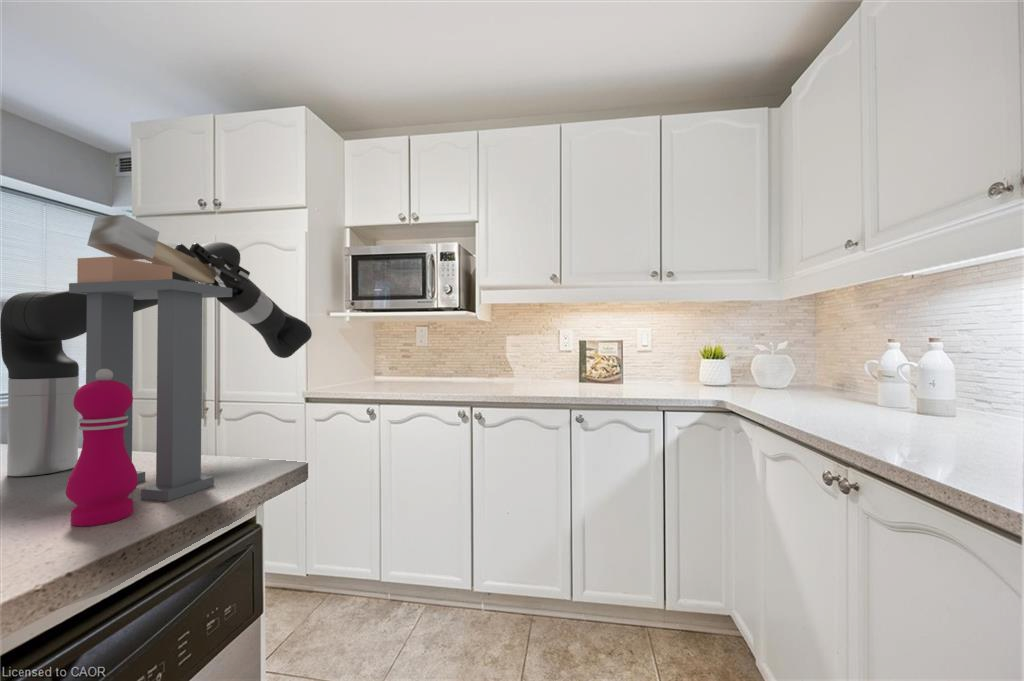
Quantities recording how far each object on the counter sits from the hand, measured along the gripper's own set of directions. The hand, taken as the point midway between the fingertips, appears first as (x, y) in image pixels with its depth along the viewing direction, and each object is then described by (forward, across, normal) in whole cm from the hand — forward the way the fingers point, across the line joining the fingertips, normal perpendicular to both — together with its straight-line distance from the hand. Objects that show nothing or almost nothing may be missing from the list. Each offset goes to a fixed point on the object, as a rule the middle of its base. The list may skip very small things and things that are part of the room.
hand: (185, 247), depth 88 cm
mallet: (+2, 0, +7) cm, 7 cm away
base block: (+5, 0, +13) cm, 14 cm away
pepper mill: (-1, +13, +48) cm, 50 cm away
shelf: (-12, +6, +42) cm, 44 cm away
